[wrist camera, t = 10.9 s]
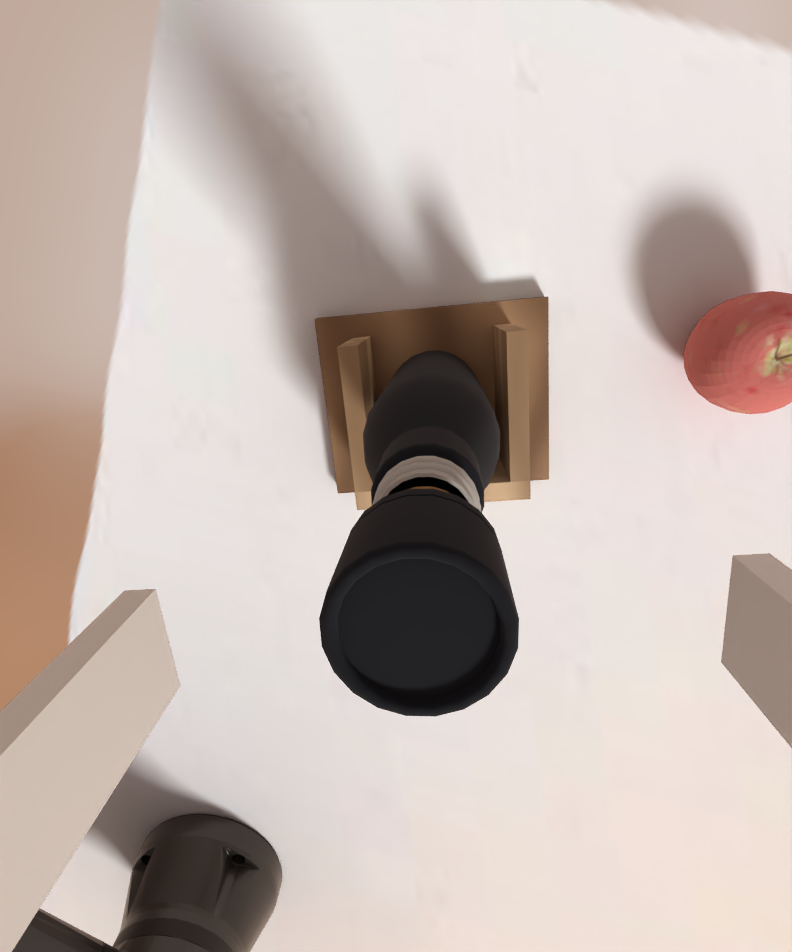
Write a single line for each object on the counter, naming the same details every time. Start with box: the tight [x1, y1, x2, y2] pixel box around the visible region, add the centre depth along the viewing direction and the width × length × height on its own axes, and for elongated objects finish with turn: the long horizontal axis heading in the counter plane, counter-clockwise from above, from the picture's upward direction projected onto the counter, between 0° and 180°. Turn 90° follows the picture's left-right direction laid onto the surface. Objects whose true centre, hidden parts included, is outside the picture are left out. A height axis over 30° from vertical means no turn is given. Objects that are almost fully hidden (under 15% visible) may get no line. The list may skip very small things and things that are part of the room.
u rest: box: [315, 297, 549, 510], centre depth 36 cm, size 16×13×8 cm
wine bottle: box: [319, 350, 519, 716], centre depth 25 cm, size 6×6×30 cm
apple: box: [684, 291, 792, 414], centre depth 34 cm, size 7×7×8 cm
